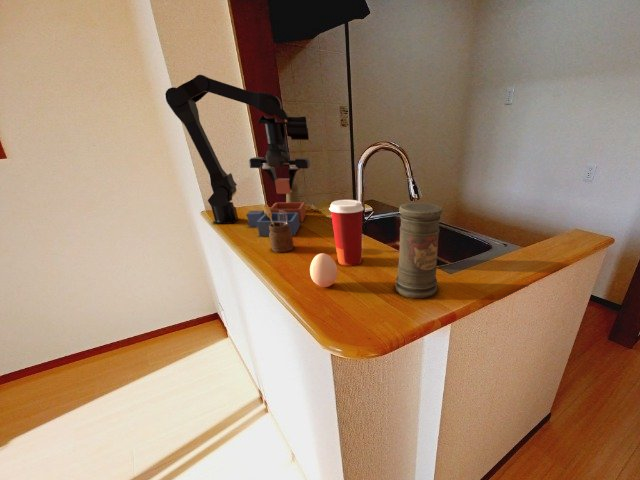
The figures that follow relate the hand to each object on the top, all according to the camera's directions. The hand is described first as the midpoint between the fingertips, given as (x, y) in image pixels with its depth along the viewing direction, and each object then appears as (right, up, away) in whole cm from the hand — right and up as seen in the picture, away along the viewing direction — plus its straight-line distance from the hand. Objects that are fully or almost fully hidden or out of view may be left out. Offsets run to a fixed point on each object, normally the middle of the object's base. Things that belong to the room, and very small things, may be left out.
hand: (284, 189), depth 111 cm
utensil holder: (+7, -24, -21) cm, 33 cm away
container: (+44, -37, -41) cm, 70 cm away
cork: (-1, -3, +15) cm, 16 cm away
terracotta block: (0, -1, +1) cm, 1 cm away
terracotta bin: (0, -9, +6) cm, 10 cm away
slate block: (-8, -13, -2) cm, 16 cm away
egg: (+24, -36, -40) cm, 59 cm away
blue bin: (+1, -16, -7) cm, 18 cm away
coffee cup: (+27, -29, -28) cm, 48 cm away
